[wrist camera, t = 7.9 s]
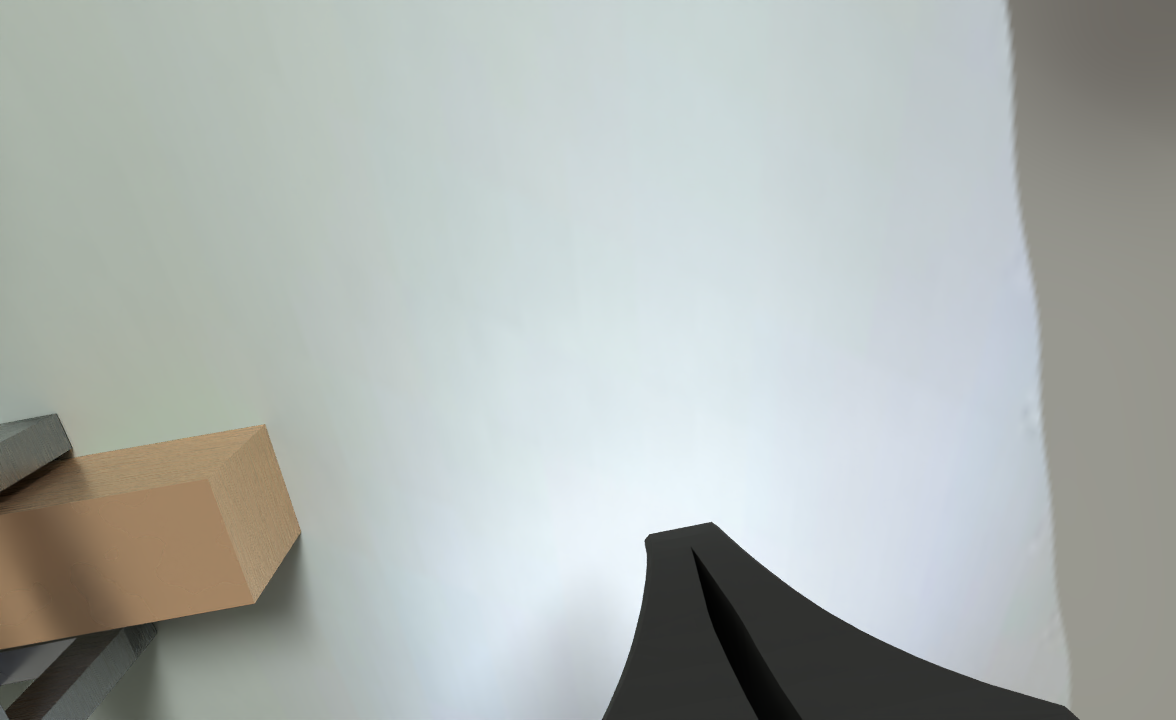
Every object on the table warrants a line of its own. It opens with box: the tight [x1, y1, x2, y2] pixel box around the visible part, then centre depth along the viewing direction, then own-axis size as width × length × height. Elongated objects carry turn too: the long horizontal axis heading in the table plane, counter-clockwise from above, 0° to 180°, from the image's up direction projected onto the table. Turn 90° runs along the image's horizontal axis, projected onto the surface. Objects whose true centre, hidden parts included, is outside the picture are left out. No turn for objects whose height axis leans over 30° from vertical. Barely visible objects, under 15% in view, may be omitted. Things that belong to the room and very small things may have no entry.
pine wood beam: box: [0, 424, 301, 649], centre depth 19 cm, size 4×14×4 cm, turn 99°
